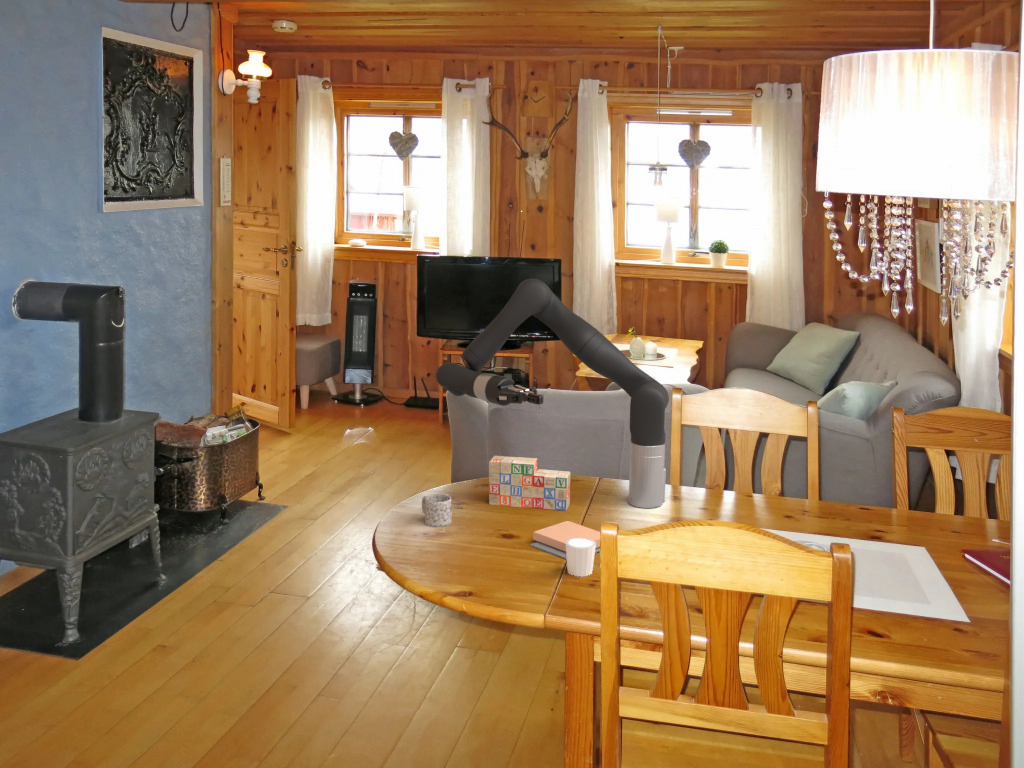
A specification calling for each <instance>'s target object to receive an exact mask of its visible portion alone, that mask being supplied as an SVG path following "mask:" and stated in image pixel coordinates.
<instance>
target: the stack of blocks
mask: <svg viewBox="0 0 1024 768" xmlns="http://www.w3.org/2000/svg"><path fill="white" fill-rule="evenodd" d="M538 465H539V458H536V457H524V456H523V457H520V456H505V455H493V457H492V458H491V459H490V460H489V462H488V504H489V505H494V506H504V507H505V506H506V507H516V508H527V509H529V508H531V509H540V510H554V511H555V510H556V511H564V512H566V511H567V509H568V508H569V506H570V504H571V471H567V470H566V471H565V470H553V469H544V468H543V469H540V468H539V466H538Z"/></svg>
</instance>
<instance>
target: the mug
mask: <svg viewBox="0 0 1024 768" xmlns="http://www.w3.org/2000/svg"><path fill="white" fill-rule="evenodd" d="M421 511H422V513H423V514H424V516H425V517H424V521H425V522H424V523H425V525H426V526H428V527H431V528H444V527H448V526H450V525H451V524H452V497H451V496H450V495H449V494H444V493H433V494H429V495H424V496H423V497H422V498H421Z"/></svg>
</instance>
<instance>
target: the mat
mask: <svg viewBox="0 0 1024 768" xmlns="http://www.w3.org/2000/svg"><path fill="white" fill-rule="evenodd" d="M530 547H533V548H535V549H538V550H540V551H543V552H546V553H548V554H551V555H554V556H557V557H558V558H562V559H564V560H566V561H567V556H566V552H564V551H561V550H558V549H556V548H553V547H550V546H548V545H545V544H542V543H540V542H537V541H536V542H532V543H530ZM598 551H599V553H601V552H600V547H599V548H596V549H595V553H596V554H598V553H597V552H598Z"/></svg>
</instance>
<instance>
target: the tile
mask: <svg viewBox="0 0 1024 768" xmlns="http://www.w3.org/2000/svg"><path fill="white" fill-rule="evenodd" d="M600 532H601V531H598V530H596V529H593V528H591V527H587V526H584V525H582V524H578V523H575V522H572V521H569V520H566V521H563V522H559V523H557V524H553V525H550V526H547V527H544V528H541V529H538V530H535V531H533V537H532V538H533V540H534V541H536V542H540V543H542V544H545V545H548V546H550V547H553V548H556V549H558V550H561V551H564V552H566V541H567V540H569V539H572V538H587V539H591V540H593V541H595V542H596V548H599V547H600ZM596 548H595V549H596Z"/></svg>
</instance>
